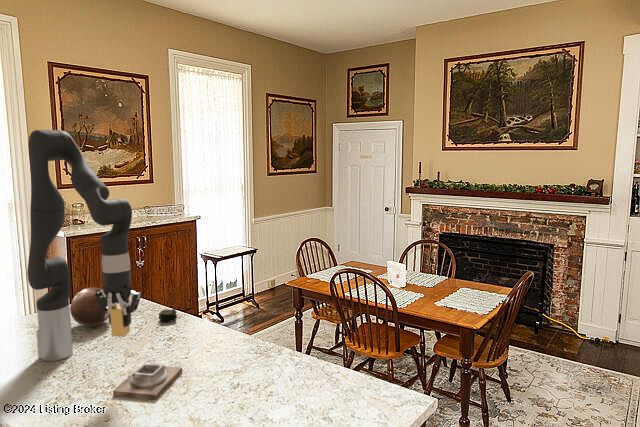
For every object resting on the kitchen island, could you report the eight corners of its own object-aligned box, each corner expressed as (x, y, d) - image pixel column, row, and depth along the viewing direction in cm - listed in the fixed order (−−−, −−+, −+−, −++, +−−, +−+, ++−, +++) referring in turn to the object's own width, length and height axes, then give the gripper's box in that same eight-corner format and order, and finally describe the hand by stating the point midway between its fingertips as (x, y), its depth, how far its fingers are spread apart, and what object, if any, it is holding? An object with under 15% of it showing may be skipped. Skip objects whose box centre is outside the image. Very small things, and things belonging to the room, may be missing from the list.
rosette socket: (113, 395, 129) (112, 380, 128) (143, 368, 145) (142, 355, 144) (156, 399, 127) (155, 384, 126) (182, 372, 143) (181, 358, 142)
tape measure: (177, 322, 183) (176, 313, 182) (158, 324, 181) (158, 315, 180) (176, 316, 189) (176, 307, 189) (159, 318, 187) (158, 309, 187)
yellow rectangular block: (112, 336, 133) (109, 309, 132) (119, 331, 136) (117, 305, 135) (123, 336, 132) (121, 310, 131) (130, 331, 136) (127, 305, 135)
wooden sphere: (64, 326, 178) (61, 289, 176) (101, 315, 190) (98, 280, 188) (84, 336, 169) (81, 297, 167) (122, 323, 182) (119, 286, 179)
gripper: (85, 271, 129) (90, 329, 132) (131, 272, 127) (135, 331, 129) (102, 264, 137) (106, 319, 139) (145, 265, 134) (149, 322, 137)
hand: (120, 325), depth 134 cm, fingers closed on yellow rectangular block, 3 cm apart
